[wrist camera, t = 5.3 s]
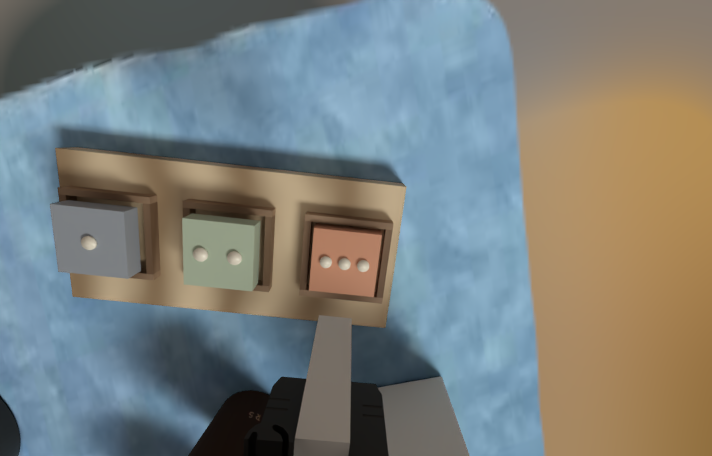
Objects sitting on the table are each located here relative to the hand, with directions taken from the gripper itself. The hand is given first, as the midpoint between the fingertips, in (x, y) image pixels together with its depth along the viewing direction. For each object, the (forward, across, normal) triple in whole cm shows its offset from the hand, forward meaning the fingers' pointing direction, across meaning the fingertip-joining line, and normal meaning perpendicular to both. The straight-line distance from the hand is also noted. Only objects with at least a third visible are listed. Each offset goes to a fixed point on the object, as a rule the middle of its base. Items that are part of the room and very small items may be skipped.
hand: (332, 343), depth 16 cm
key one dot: (+11, +18, 0) cm, 21 cm away
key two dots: (+11, +9, 0) cm, 14 cm away
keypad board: (+14, +9, 0) cm, 16 cm away
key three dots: (+12, 0, 0) cm, 12 cm away
